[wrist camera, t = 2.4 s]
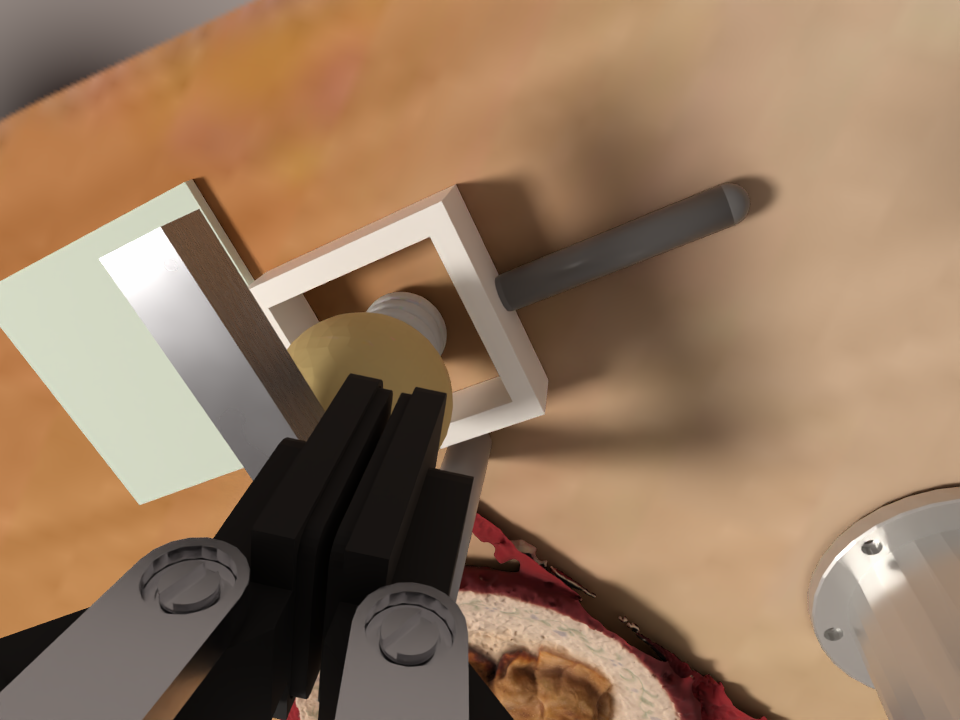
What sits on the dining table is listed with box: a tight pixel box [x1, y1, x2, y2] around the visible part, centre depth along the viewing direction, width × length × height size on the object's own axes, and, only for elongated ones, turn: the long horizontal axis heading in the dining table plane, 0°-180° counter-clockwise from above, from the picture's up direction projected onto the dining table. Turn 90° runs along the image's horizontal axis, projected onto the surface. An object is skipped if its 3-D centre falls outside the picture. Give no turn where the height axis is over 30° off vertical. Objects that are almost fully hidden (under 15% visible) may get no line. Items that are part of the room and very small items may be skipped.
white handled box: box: [248, 183, 750, 603], centre depth 24 cm, size 20×12×10 cm, turn 115°
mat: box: [0, 179, 255, 505], centre depth 33 cm, size 13×13×1 cm
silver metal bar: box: [99, 209, 454, 601], centre depth 20 cm, size 3×16×2 cm, turn 26°
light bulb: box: [287, 292, 453, 451], centre depth 26 cm, size 6×6×10 cm
